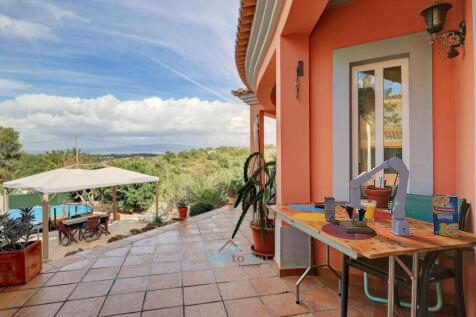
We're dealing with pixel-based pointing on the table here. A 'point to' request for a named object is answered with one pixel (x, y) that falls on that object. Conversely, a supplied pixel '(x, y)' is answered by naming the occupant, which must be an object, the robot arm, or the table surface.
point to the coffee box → (329, 208)
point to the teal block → (357, 215)
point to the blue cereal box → (445, 215)
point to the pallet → (357, 222)
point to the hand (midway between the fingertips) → (355, 219)
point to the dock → (354, 227)
